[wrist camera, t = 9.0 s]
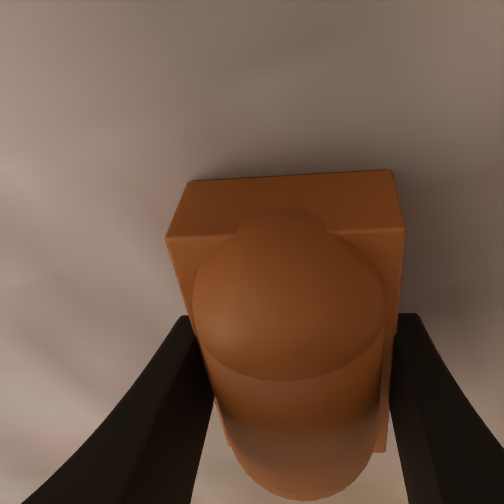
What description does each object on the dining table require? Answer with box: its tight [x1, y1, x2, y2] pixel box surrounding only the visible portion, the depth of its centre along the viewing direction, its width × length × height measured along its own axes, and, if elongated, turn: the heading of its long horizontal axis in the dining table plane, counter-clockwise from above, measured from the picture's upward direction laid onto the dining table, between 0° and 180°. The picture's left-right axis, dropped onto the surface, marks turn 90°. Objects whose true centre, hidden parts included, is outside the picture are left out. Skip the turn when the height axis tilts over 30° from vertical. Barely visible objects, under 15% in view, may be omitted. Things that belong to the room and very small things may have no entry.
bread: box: [165, 170, 406, 501], centre depth 11 cm, size 8×5×4 cm, turn 7°
